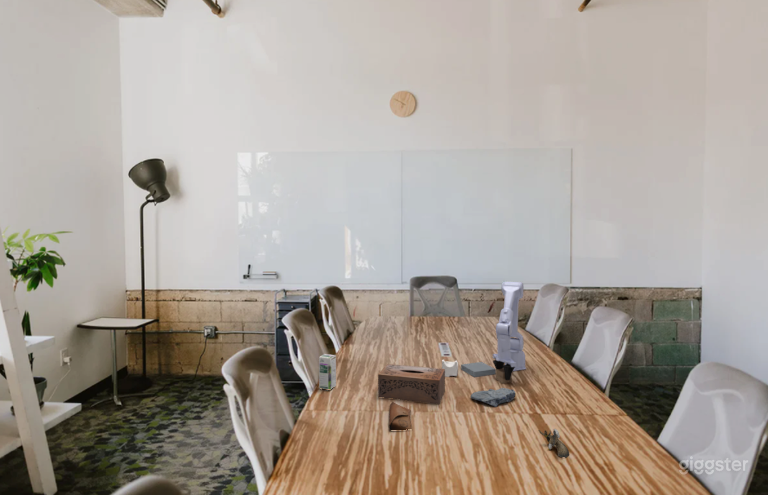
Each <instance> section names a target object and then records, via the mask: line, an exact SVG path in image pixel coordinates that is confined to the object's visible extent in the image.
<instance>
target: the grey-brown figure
mask: <svg viewBox="0 0 768 495" xmlns="http://www.w3.org/2000/svg"><path fill="white" fill-rule="evenodd" d="M538 432H539V434H541V435H542V436H544V437H545V439H546V441H547V443H548V446H547V451H550V450H551V449H552V448H553V447H555V448H556V449H557V456H558V457H560V458H562V457H565V458H564V459H566V458H568V457H569V455H570V452H569V449H568V447H567V446H566V445H565V444H564V443H563V441H561V440H560V436H561V435H560V432H559V430H558V429H556V428H553V431H551V430H549V433H548V432H547V430H544V432H542V431H541V430H540V429H538ZM551 434H552V435H551Z"/></svg>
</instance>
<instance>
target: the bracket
mask: <svg viewBox="0 0 768 495" xmlns="http://www.w3.org/2000/svg"><path fill="white" fill-rule="evenodd" d="M441 369H445V378H446V377H447V378H450V377H451V376H452V377H453V376H454V377H457V376H458V371H459V370H458V369H459V362H458V360H454V361H448V360H447V361H445V359H442V360H441Z"/></svg>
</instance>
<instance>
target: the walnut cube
mask: <svg viewBox="0 0 768 495" xmlns="http://www.w3.org/2000/svg"><path fill="white" fill-rule="evenodd" d="M495 369H496V368H495ZM512 376H513V374H511V378H510V380H505V372H504V368H502V369H496V374H495V381H497V382H499V383H501V384H508V383H509V384H510V383H512V381H513V377H512Z"/></svg>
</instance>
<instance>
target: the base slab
mask: <svg viewBox="0 0 768 495" xmlns="http://www.w3.org/2000/svg"><path fill="white" fill-rule="evenodd" d="M460 370H461V371H463V372H465V373H466V374H468V375H470V376H471V377H473V378H478V377H485V376H492V375H496V367H495V368H494V367H492V366H491V365H489V364H487V363H485V362H482V361H478V362H477V361H476V362H470V363H469V362H468V363H463V364H460Z"/></svg>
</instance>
